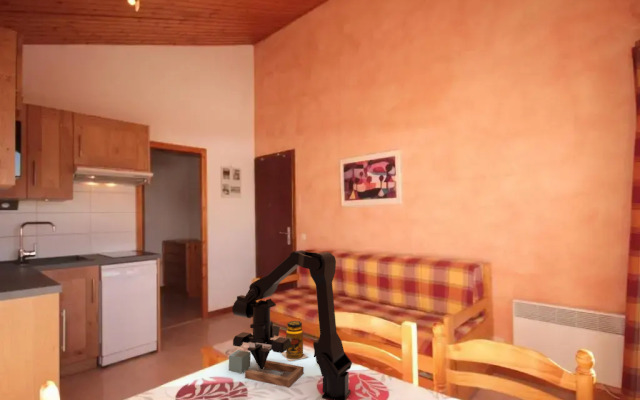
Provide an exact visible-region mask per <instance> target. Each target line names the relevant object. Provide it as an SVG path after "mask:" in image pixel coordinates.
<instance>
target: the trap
mask: <svg viewBox="0 0 640 400" xmlns="http://www.w3.org/2000/svg"><path fill="white" fill-rule="evenodd" d="M291 373H292V372H286V371H285V372H282V373H281V374H280V375H279V376H283V377H288V376H289V375H290V374H291Z"/></svg>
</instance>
